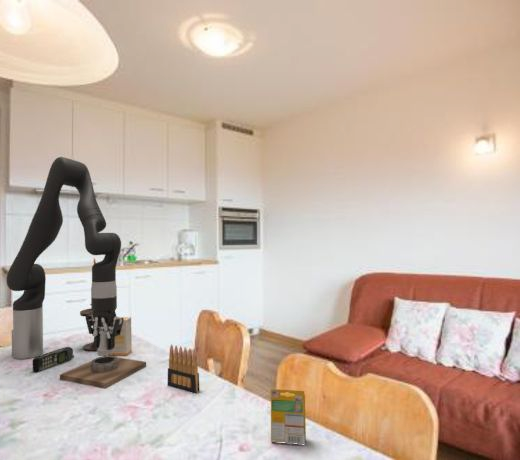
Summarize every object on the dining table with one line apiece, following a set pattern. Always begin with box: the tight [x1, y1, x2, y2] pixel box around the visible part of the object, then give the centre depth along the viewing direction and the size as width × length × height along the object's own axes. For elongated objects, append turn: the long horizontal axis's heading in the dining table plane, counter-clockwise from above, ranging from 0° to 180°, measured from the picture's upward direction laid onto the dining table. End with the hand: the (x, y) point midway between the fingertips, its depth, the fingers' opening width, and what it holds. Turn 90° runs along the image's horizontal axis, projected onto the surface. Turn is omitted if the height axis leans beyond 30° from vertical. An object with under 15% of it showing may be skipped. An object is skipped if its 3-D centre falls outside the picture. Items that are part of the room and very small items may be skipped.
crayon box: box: [270, 388, 307, 445], centre depth 79 cm, size 7×3×12 cm, turn 81°
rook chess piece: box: [96, 328, 112, 357], centre depth 117 cm, size 4×4×8 cm
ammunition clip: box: [166, 344, 200, 394], centre depth 105 cm, size 11×2×12 cm, turn 60°
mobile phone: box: [32, 346, 75, 373], centre depth 125 cm, size 5×3×15 cm
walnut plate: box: [59, 356, 147, 389], centre depth 117 cm, size 18×18×2 cm
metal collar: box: [91, 355, 120, 373], centre depth 117 cm, size 8×8×2 cm
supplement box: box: [108, 316, 133, 356], centre depth 135 cm, size 8×5×13 cm, turn 84°
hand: (104, 348), depth 117 cm, fingers closed on rook chess piece, 4 cm apart
